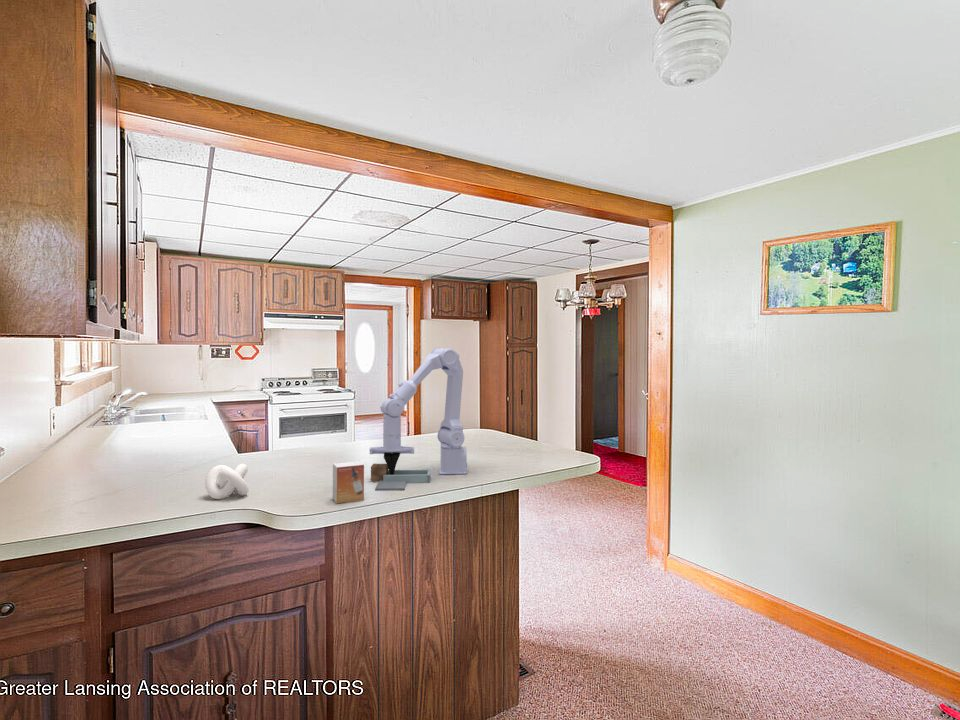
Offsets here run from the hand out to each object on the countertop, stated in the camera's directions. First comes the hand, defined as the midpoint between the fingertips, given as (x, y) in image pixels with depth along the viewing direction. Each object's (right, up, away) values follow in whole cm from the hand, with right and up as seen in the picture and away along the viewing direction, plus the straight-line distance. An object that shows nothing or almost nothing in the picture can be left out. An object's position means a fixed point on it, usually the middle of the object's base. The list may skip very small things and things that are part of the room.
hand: (392, 475), depth 164 cm
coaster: (+1, -2, -7) cm, 7 cm away
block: (-4, -2, 0) cm, 4 cm away
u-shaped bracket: (+5, -2, 0) cm, 5 cm away
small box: (-9, -3, -21) cm, 23 cm away
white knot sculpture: (-44, -2, -18) cm, 48 cm away
